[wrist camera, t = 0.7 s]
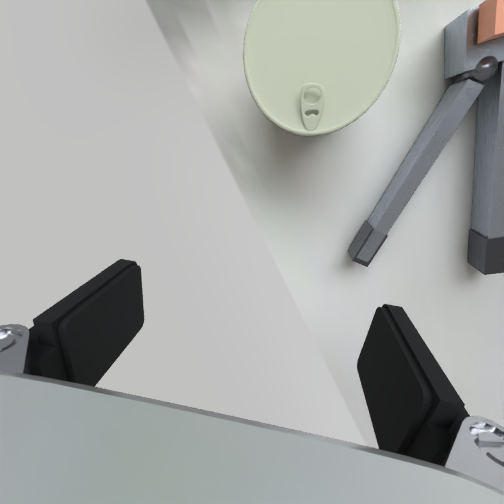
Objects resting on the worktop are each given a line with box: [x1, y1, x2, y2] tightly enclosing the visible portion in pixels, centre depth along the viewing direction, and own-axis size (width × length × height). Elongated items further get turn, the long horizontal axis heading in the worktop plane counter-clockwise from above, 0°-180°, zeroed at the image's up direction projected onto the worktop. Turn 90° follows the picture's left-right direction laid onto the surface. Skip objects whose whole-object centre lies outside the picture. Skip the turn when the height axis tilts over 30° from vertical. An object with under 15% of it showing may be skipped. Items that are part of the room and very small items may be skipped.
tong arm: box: [348, 79, 484, 267], centre depth 27 cm, size 18×2×3 cm, turn 159°
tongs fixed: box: [444, 6, 504, 275], centre depth 25 cm, size 23×5×3 cm, turn 14°
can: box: [243, 0, 401, 136], centre depth 21 cm, size 9×9×12 cm
